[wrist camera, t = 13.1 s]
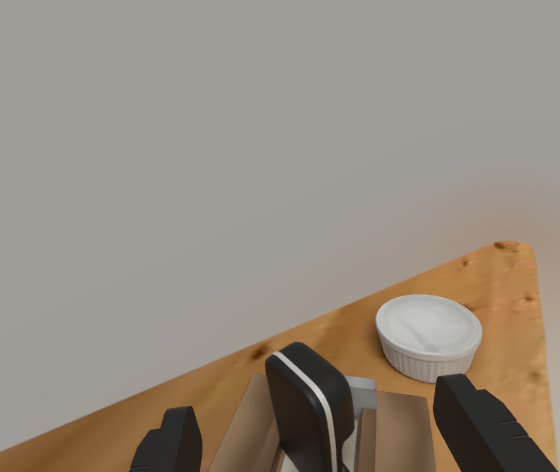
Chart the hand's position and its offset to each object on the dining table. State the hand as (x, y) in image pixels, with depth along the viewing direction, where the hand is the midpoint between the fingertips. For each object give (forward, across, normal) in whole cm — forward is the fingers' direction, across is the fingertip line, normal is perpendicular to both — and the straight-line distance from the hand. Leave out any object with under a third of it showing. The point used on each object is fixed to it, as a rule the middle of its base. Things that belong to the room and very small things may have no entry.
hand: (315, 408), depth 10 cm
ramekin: (+22, -16, +22) cm, 34 cm away
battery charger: (+10, -1, +20) cm, 23 cm away
